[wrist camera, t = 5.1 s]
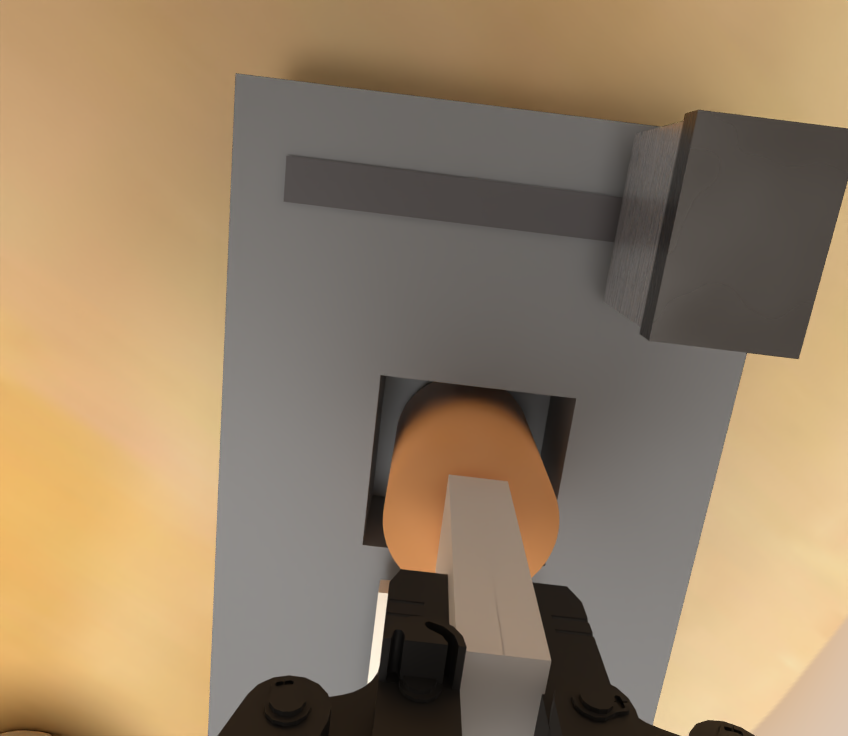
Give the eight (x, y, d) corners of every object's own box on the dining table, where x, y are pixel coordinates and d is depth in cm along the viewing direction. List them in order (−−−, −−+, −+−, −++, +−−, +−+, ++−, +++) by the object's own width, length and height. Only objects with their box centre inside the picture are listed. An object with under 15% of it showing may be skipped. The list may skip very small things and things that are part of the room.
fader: (598, 304, 18) (648, 340, 14) (632, 129, 17) (698, 109, 13) (713, 318, 18) (798, 359, 14) (754, 144, 17) (861, 130, 13)
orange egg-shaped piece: (389, 491, 24) (374, 589, 18) (403, 367, 23) (392, 430, 17) (517, 506, 24) (543, 609, 18) (538, 383, 23) (573, 451, 17)
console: (239, 769, 30) (188, 922, 24) (279, 97, 22) (218, 63, 16) (574, 806, 30) (611, 968, 24) (722, 153, 23) (829, 140, 16)
